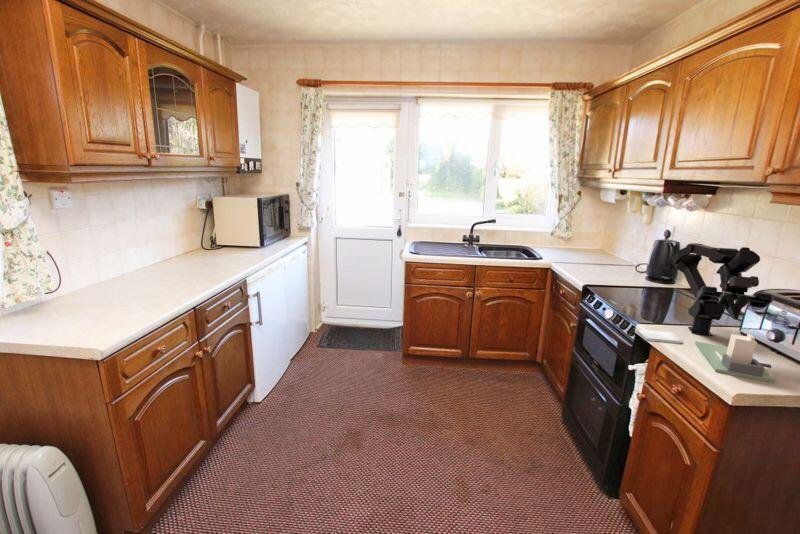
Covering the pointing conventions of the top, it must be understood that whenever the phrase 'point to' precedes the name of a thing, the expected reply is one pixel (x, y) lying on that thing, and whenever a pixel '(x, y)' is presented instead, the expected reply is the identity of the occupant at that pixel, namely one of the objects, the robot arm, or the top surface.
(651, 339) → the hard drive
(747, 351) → the plug
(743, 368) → the header
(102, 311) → the top surface
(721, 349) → the board
